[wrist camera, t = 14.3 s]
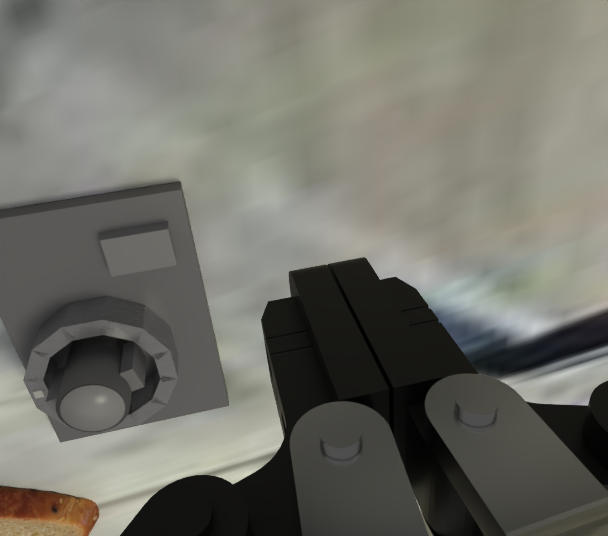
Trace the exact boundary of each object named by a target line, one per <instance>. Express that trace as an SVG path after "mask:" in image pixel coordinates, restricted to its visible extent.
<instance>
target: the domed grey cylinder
mask: <svg viewBox="0 0 608 536" xmlns="http://www.w3.org/2000/svg"><path fill="white" fill-rule="evenodd" d="M145 371H146V356H145V354H144V353H143V351H142V350H141V348H140V347H139V345H137V344H136V343H135V342H134V341H130V340H125V339H120V338H116V337H111V336H106V335H99V336H94V337H89V338H84V339H79V340H73V341H72V344H71V347H70V351H69V355H68V359H67V363H66V366H65V367H63V368H60V369H58V370H55V371H54V374H53V377H52V381H51V384H50V388H49V391H48V395H47V398H46V402H45V403H46V404H47V405H48V406H49V407H50V409H51V410H52V411H53V412H54V413H55V414H56V416H57V417H58V418H59V419H60V420H61V421H62V422H63V423H65V424H66V425H67V426H69V427H71V428H73V429H76V430H79V431H83V432H101V431H106V430H109V429H111V428H114V427H116V426H117V425H119V424H120V423H121V422H122V421H123V420H124V419H125V418H126V417H127V415H128V413H129V409H130V401H131V391H135V390H138V389H140V388H143V387H144V386H145Z"/></svg>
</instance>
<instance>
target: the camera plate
mask: <svg viewBox="0 0 608 536" xmlns="http://www.w3.org/2000/svg"><path fill="white" fill-rule="evenodd" d="M102 296H112V297H116V298H120V299H124V300H128V301H132V302H136V303H140V304H144V305H146V306H147V307H148V308H150V309H151V310H152V311H153V312H154V313H155V314H157V315H158V316H159V317H160V318H161V319H163V320H164V321H165V322H166V323H167V324H168V325H170V327H171V330H172V334H173V338H174V341H175V345H176V349H177V352H178V380H177V382H176V385H175V387H174V389H173V392H172V394H171V396H170V399H169V401H168V403H167V405H166V406H165V407H163V408H162V409H161V410H159V411H158V412H156V413H155V414H154V415H152V416H151V417H149V418H148V419H147V420H145V421H144V422H142V423H141V424H139V425H143V424H147V423H152V422H156V421H161V420H166V419H170V418H175V417H179V416H184V415H189V414H193V413H198V412H202V411H207V410H212V409H216V408H221V407H225V406H229V400H228V393H227V388H226V384H225V379H224V375H223V370H222V366H221V361H220V357H219V352H218V348H217V343H216V339H215V334H214V330H213V325H212V321H211V316H210V312H209V307H208V302H207V298H206V293H205V289H204V284H203V280H202V275H201V271H200V266H199V262H198V257H197V253H196V248H195V244H194V239H193V235H192V230H191V226H190V221H189V217H188V212H187V208H186V203H185V199H184V194H183V190H182V185H181V182H176V183H170V184H163V185H157V186H151V187H144V188H138V189H132V190H125V191H119V192H113V193H106V194H100V195H94V196H87V197H81V198H75V199H69V200H62V201H56V202H50V203H43V204H37V205H31V206H24V207H18V208H12V209H5V210H0V317H1V319H2V321H3V323H4V325H5V327H6V330H7V332H8V334H9V336H10V338H11V340H12V342H13V344H14V346H15V348H16V351H17V353H18V355H19V357H20V359H21V361H22V363H23V365H24V367H25V369H27V366H28V362H29V359H30V355H31V352H32V348H33V346H34V343H35V340H36V337H37V334H38V332H39V329H40V326H41V324H42V323H43V322H45V321H46V320H47V319H49V318H50V317H51V316H52V315H54V314H55V313H56V312H58V311H59V310H60V309H61V308H63V307H64V306H65V305H67V304H68V303H70V302H75V301H81V300H86V299H92V298H97V297H102ZM71 344H72V341H71V342H70V343H69V344H67V345H66V346H65V347H63V348H62V349H61V350H59V351H58V352H57V353H55V354H54V355H53V357H54V360H55V362H56V364H57V367H58V369H60V368H63V367H65V366H66V363H67V359H68V355H69V351H70V347H71ZM139 347H140V346H139ZM140 348H141V347H140ZM141 350H142V351H143V353H144V354H145V356H146V371H145V379H146V378H147V377H148V376H150V375H151V374H153V373H154V370H155V368H156V362H155V359H154V357H153V356H151V355H150V354H149V353H148V352H146V351H145V350H144V349H142V348H141ZM47 416H48V418H49V420H50V422H51V424H52V426H53V428H54V430H55V432H56V434H57V437H58V439H59V441H60V442H64V441H69V440H74V439H78V438H83V437H87V436H92V435H97V434H101V433H106V432H83V431H79V430H76V429H73V428H71V427H67V426H65V425H63V424H62V423H60V422H59V421H57V420H55V419H54V418H52V417H50V416H49V415H47ZM135 426H138V425H135ZM130 427H133V426H130ZM125 428H129V427H125ZM121 429H124V428H121ZM116 430H120V429H116ZM112 431H115V430H112ZM107 432H110V431H107Z"/></svg>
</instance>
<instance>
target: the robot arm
mask: <svg viewBox="0 0 608 536" xmlns="http://www.w3.org/2000/svg"><path fill="white" fill-rule="evenodd" d="M289 283H290V291H291V297H289V298H284V299H279V300H274V301H269V302H268V303H267V306H266V308H265V311H264V314H263V316H262V319H261V322H262V328H263V334H264V341H265V347H266V353H267V359H268V366H269V372H270V378H271V383H272V387H273V392H274V396H275V400H276V404H277V409H278V413H279V417H280V422H281V426H282V430H283V435H284V440H283V443H282V445H281V447H280V449H279V450H278V452H277V453H276V455H275V456H274V457H273V458H272V459H271V460H270V461H269V462H268V463H267V464H266V465H265V466H263V467H262V468H261V469H259V470H258V471H256V472H254V473H253V474H251V475H249V476H247V477H246V478H244V479H242V480H240V481H239V482H237V483H235V484H231V483H230V482H228V481H226V480H224V479H223V478H219V477H216V476H210V475H195V476H190V477H186V478H183V479H180V480H177V481H175V482H173V483H171V484H169V485H167V486H165V487H164V488H162V489H161V490H159V491H158V492H157V493H156V494H155V495H153V496H152V497H151V498H150V499H149V500H148V502H147V503H146V504H145V505H144V506H143V507H142V509H141V510H140V511H139V512H138V514H137V515H136V516H135V517H134V519H133V520H132V521H131V522H130V524H129V525H128V526H127V528H126V529H125V530H124V531H123V533H122V534H121V535H120V536H608V381H606V382H604V383H602V384H600V385H599V386H598V387H596V388H595V389H594V391H593V392H592V394H591V397H590V401H589V405H588V406H581V405H554V404H537V403H530V402H526V401H525V400H524V399H523V398H522V397H521V396H520V395H519V394H518V393H517V392H516V391H515V390H514V389H512V388H511V387H510V386H508V385H507V384H505V383H503V382H501V381H499V380H497V379H494V378H492V377H488V376H484V375H479V374H478V373H477V371H476V370H475V369H474V367H473V366H472V364H471V363H470V362H469V360H468V359H467V358H466V356H465V355H464V354H463V352H462V351H461V349H460V348H459V347H458V345H457V344H456V343H455V341H454V340H453V339H452V337H451V336H450V334H449V333H448V332H447V330H446V329H445V328H444V326H443V325H442V324H441V323H439V322H438V318H437V317H436V315H435V314H434V313H433V311H432V310H431V309H429V308H428V305H427V303H426V302H425V300H424V299H423V298H422V296H421V295H420V294H419V292H418V291H417V290H416V289H415V288H414V287H412V286H410V285H409V284H407V283H405V282H403V281H402V280H400V279H398V278H397V277H392V278H387V279H382V280H380V279H379V277H378V276H377V274H376V273H375V271H374V270H373V268H372V266H371V265H370V263H369V262H368V260H367V259H366V258H364V257H363V258H358V259H352V260H347V261H342V262H336V263H331V264H328V265H321V266H315V267H310V268H305V269H299V270H294V271H289ZM415 497H416V498H415ZM416 499H417V501H416ZM417 502H418V504H419V506H420V509H419V506H418V504H417Z"/></svg>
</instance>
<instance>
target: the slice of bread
mask: <svg viewBox="0 0 608 536" xmlns="http://www.w3.org/2000/svg"><path fill="white" fill-rule="evenodd" d="M98 518H99V509H98V507H97V505H96V503H95V502H93V501H91V500H89V499H86V498H79V497H74V496H71V495H66V494H60V493H56V492H53V491H40V490H35V489H17V488H12V487H0V536H88V535H89V534H90V532H91V530H92V529H93V527H94V525H95V523H96V521H97V519H98Z"/></svg>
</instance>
